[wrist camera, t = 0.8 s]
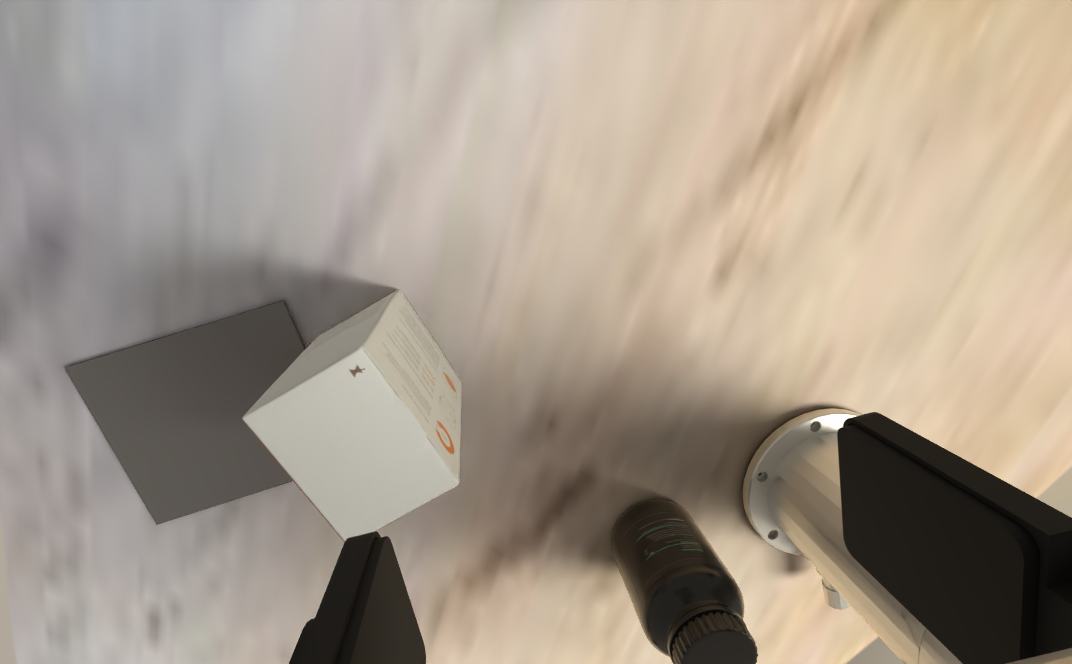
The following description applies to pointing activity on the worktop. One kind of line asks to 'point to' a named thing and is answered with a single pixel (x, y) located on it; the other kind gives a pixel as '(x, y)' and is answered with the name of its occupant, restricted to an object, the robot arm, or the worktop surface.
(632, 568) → the supplement bottle
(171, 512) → the mat
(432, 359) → the small box
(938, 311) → the worktop surface
